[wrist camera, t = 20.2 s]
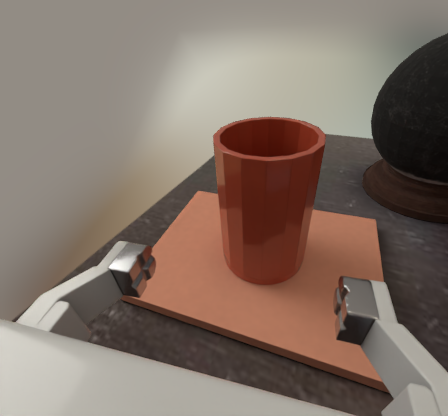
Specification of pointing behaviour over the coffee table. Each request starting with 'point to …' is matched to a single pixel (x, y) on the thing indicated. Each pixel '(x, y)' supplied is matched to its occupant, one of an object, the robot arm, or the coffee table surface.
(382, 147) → the black ball on stand
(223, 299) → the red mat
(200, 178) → the coffee table surface
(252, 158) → the terracotta cup
